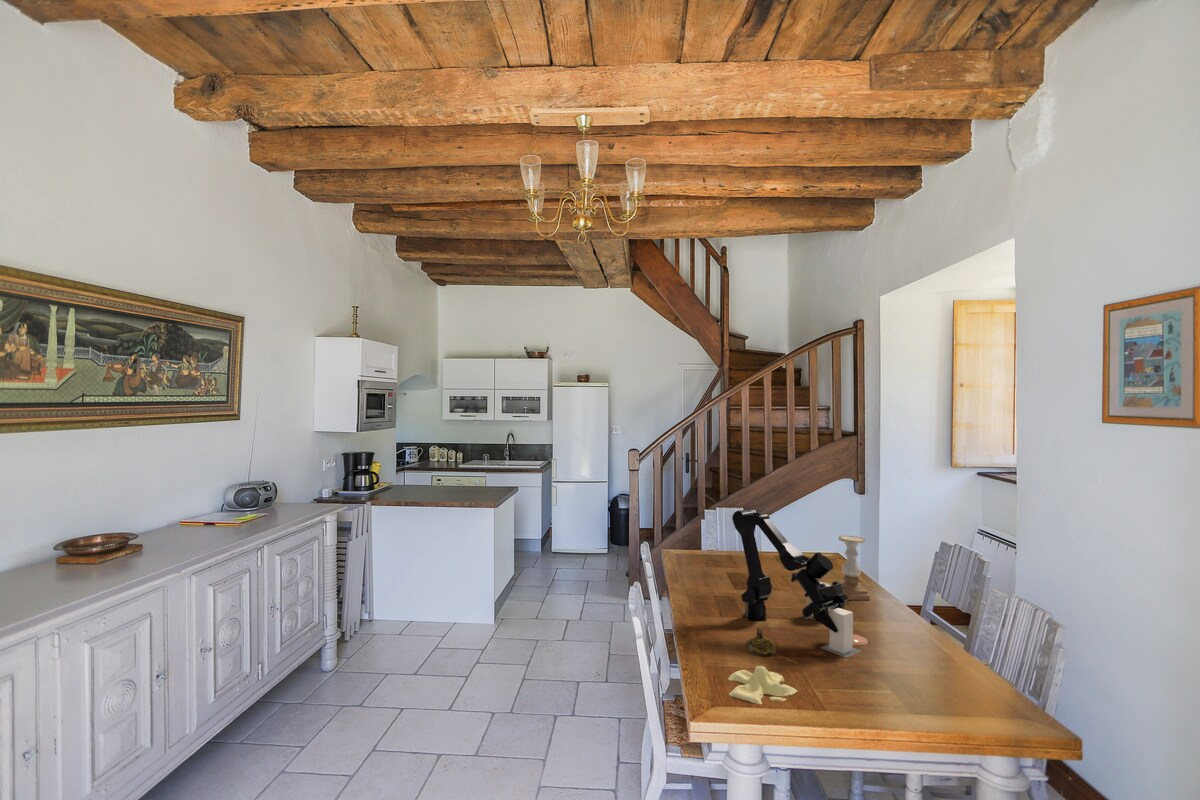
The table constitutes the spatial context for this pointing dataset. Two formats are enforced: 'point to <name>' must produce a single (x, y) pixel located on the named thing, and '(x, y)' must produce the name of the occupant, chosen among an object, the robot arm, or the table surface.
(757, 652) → the seal
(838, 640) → the ivory block
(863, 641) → the peach dome
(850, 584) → the candle holder
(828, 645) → the gray tile
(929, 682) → the table surface
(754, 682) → the cloth
